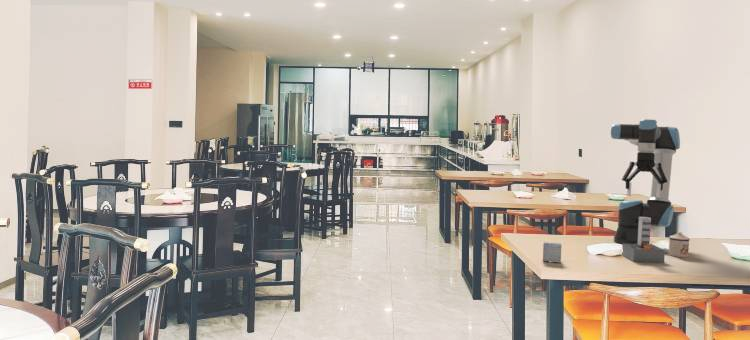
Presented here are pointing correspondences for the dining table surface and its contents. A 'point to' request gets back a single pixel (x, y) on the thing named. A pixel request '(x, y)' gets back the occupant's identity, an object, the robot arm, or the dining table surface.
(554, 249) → the medicine box
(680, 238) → the teacup with lid
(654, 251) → the sleeve base
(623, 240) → the robot arm
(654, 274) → the dining table surface
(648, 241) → the column
